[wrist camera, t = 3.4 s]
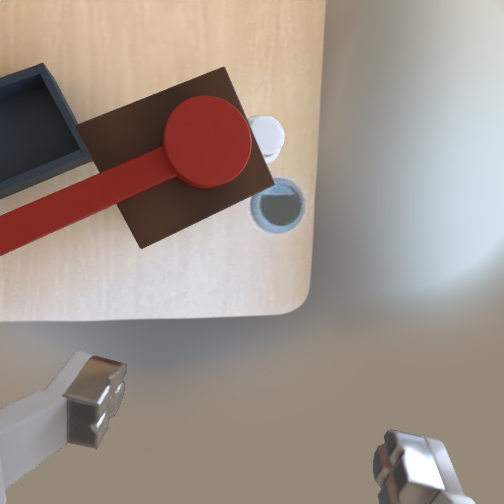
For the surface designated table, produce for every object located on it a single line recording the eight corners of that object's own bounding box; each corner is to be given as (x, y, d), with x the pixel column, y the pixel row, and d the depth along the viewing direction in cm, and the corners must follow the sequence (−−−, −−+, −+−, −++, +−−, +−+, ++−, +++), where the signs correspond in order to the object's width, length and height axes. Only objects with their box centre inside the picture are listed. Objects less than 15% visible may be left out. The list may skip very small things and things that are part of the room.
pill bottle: (239, 181, 47) (261, 173, 38) (214, 145, 46) (230, 128, 37) (271, 157, 48) (300, 143, 39) (247, 121, 47) (272, 98, 37)
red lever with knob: (-35, 304, 18) (-57, 315, 16) (-89, 222, 17) (-120, 223, 15) (254, 169, 21) (265, 164, 19) (221, 94, 20) (229, 81, 18)
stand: (149, 236, 45) (149, 266, 20) (113, 168, 43) (63, 105, 18) (222, 202, 47) (304, 189, 22) (190, 135, 45) (241, 37, 20)
